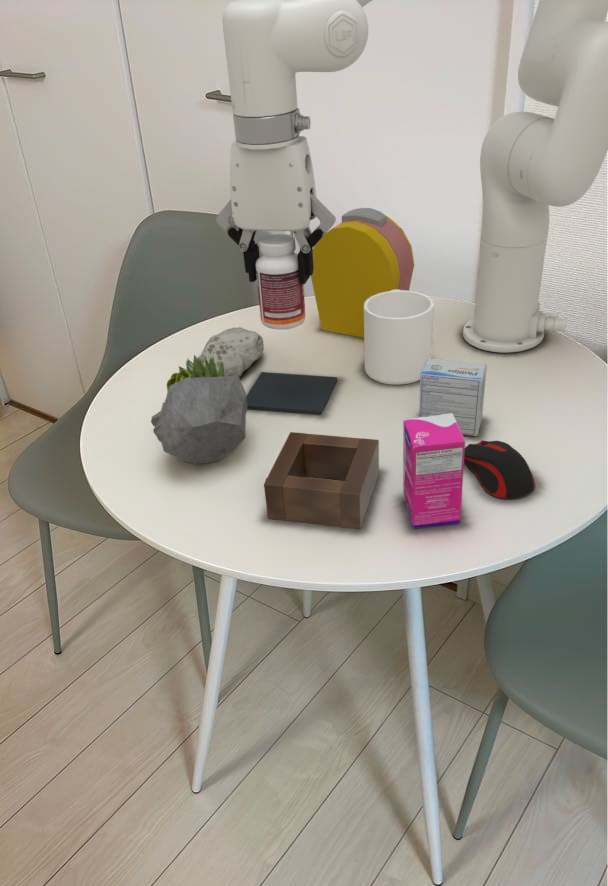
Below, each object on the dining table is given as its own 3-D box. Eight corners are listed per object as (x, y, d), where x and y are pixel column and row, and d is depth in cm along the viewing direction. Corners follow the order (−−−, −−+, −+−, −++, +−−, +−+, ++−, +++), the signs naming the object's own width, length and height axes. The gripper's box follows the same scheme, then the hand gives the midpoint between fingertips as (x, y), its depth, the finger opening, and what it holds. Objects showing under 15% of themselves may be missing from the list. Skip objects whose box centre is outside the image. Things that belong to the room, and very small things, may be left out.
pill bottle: (314, 322, 102) (310, 239, 96) (276, 335, 100) (269, 250, 93) (290, 309, 107) (284, 228, 100) (252, 320, 104) (244, 239, 97)
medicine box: (482, 420, 102) (488, 362, 96) (477, 438, 99) (482, 379, 93) (424, 414, 104) (427, 356, 99) (417, 430, 101) (419, 372, 96)
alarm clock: (414, 323, 126) (417, 209, 114) (392, 343, 121) (393, 226, 109) (336, 309, 133) (332, 199, 121) (313, 328, 128) (305, 215, 116)
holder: (378, 473, 95) (378, 439, 91) (360, 529, 86) (359, 494, 83) (293, 464, 97) (290, 431, 94) (267, 518, 89) (263, 484, 86)
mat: (337, 380, 113) (337, 377, 113) (321, 415, 106) (321, 411, 106) (262, 375, 116) (261, 371, 116) (241, 408, 109) (240, 404, 109)
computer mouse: (496, 445, 97) (499, 418, 95) (544, 491, 89) (549, 463, 87) (452, 457, 96) (454, 430, 93) (498, 505, 88) (501, 477, 85)
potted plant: (143, 464, 94) (124, 382, 102) (224, 489, 102) (201, 412, 110) (198, 399, 87) (173, 317, 95) (279, 431, 96) (250, 354, 104)
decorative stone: (202, 350, 124) (197, 321, 121) (267, 347, 123) (264, 318, 120) (189, 386, 115) (183, 357, 112) (259, 384, 114) (256, 354, 111)
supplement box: (401, 499, 90) (402, 417, 83) (449, 494, 90) (455, 411, 83) (410, 530, 86) (412, 445, 78) (461, 524, 86) (469, 440, 78)
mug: (434, 383, 111) (437, 317, 104) (366, 386, 111) (364, 321, 105) (425, 344, 120) (428, 281, 113) (363, 348, 121) (361, 285, 114)
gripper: (345, 119, 89) (350, 270, 100) (208, 121, 93) (228, 266, 104) (331, 135, 83) (337, 293, 95) (186, 137, 87) (209, 288, 99)
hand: (280, 277), depth 100 cm, fingers closed on pill bottle, 6 cm apart
